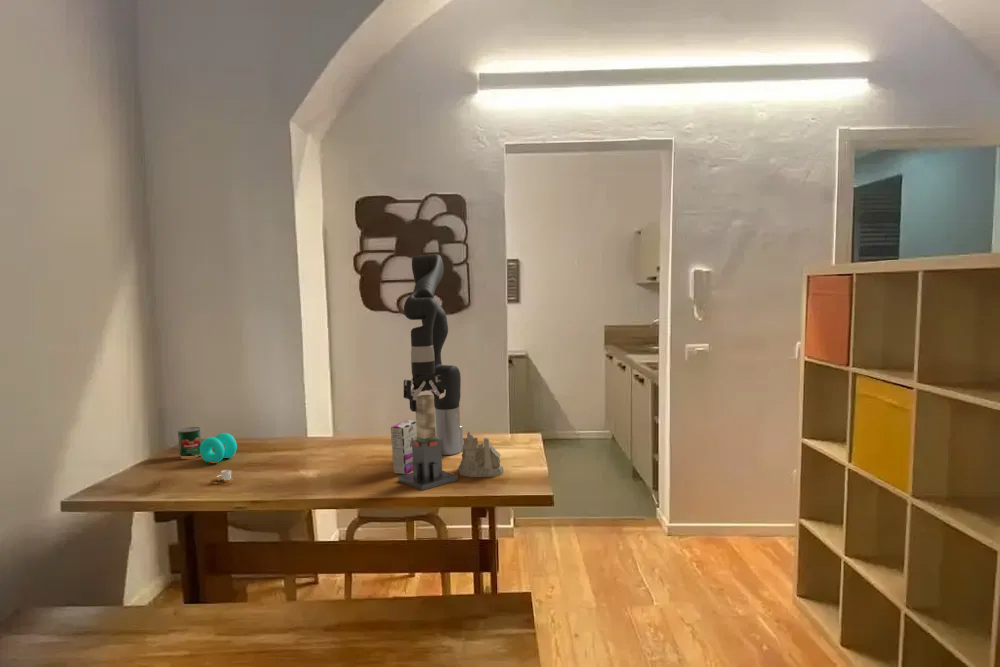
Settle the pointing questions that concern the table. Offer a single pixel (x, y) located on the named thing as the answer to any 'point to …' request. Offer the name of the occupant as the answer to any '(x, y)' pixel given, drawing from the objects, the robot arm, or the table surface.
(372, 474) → the table surface
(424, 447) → the stand
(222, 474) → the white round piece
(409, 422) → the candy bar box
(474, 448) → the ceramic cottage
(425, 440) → the post
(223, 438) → the donuts
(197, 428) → the canned tomato
